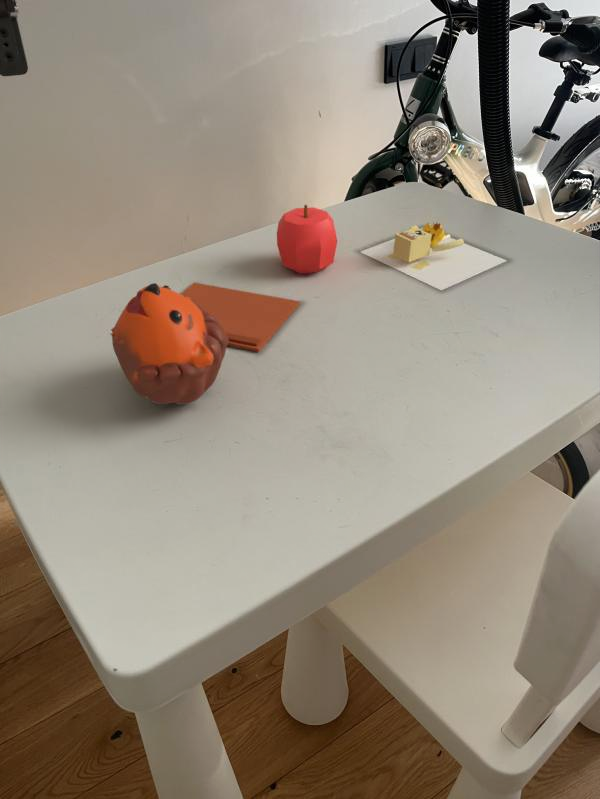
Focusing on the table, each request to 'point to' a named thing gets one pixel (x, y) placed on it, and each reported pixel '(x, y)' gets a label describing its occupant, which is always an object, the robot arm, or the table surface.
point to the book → (243, 313)
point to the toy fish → (168, 346)
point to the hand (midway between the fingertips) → (14, 73)
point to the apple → (306, 239)
